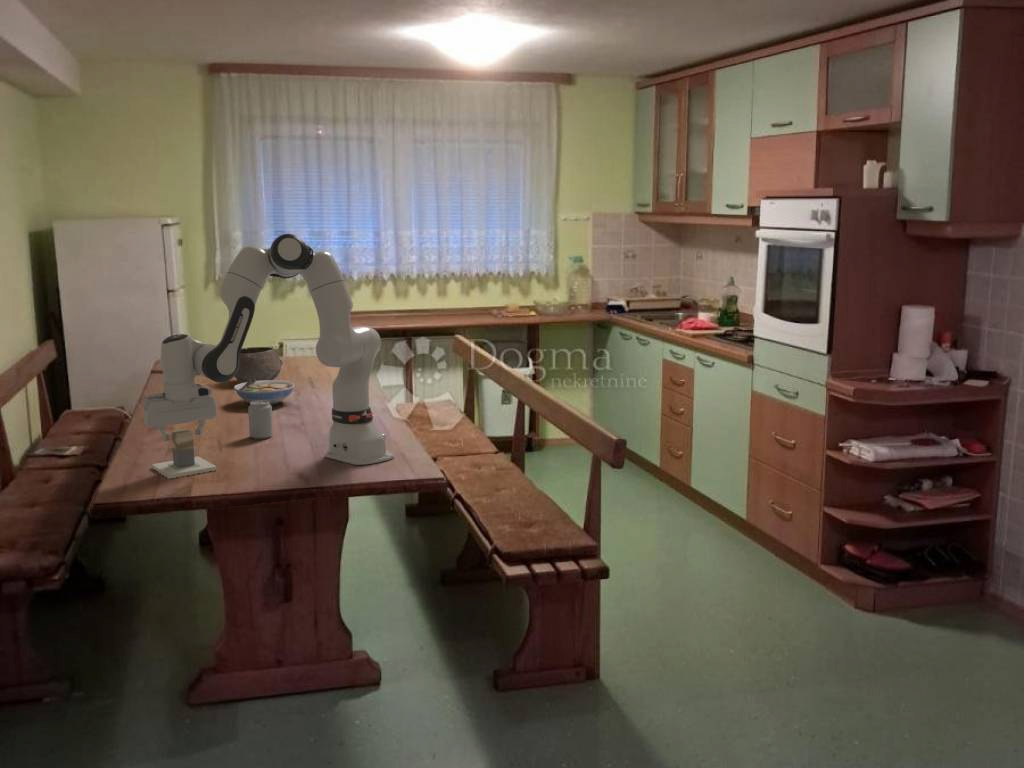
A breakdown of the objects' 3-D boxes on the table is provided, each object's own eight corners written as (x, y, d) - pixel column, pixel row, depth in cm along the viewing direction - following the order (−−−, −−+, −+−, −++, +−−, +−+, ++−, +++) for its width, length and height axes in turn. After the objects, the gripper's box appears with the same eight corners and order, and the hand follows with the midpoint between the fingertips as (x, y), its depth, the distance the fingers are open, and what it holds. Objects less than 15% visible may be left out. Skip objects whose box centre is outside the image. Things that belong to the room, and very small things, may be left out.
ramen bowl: (287, 411, 354) (287, 389, 353) (226, 411, 354) (225, 389, 353) (302, 397, 379) (301, 377, 377) (244, 397, 379) (243, 377, 377)
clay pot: (256, 390, 393) (254, 354, 390) (221, 385, 404) (219, 350, 401) (292, 382, 411) (291, 347, 408) (258, 377, 421) (256, 343, 418)
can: (250, 440, 312) (248, 404, 310) (249, 435, 319) (247, 400, 317) (273, 439, 314) (271, 403, 312) (272, 433, 321) (270, 398, 319)
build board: (216, 470, 278) (216, 465, 277) (168, 479, 269) (168, 474, 269) (198, 460, 288) (198, 455, 288) (151, 468, 280) (151, 463, 279)
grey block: (194, 465, 278) (193, 448, 277) (179, 467, 275) (178, 451, 274) (188, 461, 282) (187, 445, 281) (173, 464, 279) (172, 447, 278)
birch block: (193, 448, 277) (192, 431, 276) (178, 451, 274) (177, 434, 273) (187, 445, 281) (186, 428, 280) (172, 447, 278) (171, 431, 277)
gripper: (146, 397, 265) (149, 445, 268) (217, 388, 278) (220, 434, 281) (138, 394, 270) (142, 441, 273) (208, 385, 283) (211, 430, 286)
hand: (182, 437), depth 277 cm, fingers open, 8 cm apart
